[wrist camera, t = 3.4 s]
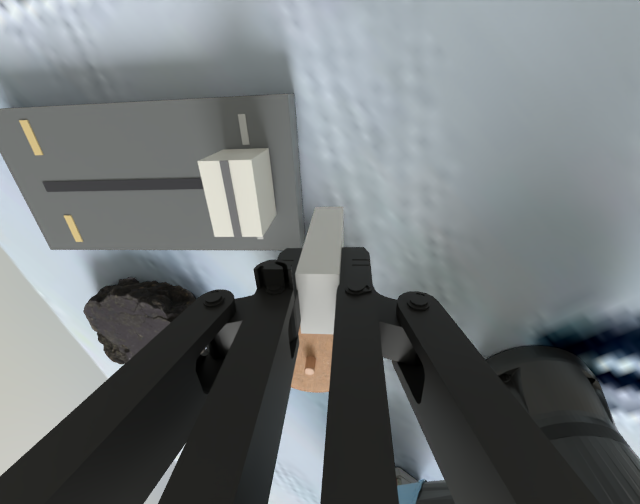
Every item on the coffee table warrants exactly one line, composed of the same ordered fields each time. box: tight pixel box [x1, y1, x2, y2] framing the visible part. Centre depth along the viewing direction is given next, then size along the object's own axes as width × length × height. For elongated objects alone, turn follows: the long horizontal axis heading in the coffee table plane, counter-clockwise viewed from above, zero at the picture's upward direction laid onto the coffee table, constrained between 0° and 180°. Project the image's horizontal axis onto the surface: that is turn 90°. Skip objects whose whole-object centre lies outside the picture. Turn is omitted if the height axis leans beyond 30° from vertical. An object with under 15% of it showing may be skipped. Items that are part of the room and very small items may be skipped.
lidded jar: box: [291, 327, 333, 393], centre depth 34 cm, size 11×11×9 cm
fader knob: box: [197, 148, 276, 238], centre depth 25 cm, size 4×6×5 cm, turn 3°
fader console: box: [0, 94, 305, 250], centre depth 30 cm, size 28×14×3 cm, turn 93°
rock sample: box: [84, 277, 206, 364], centre depth 39 cm, size 18×16×5 cm
